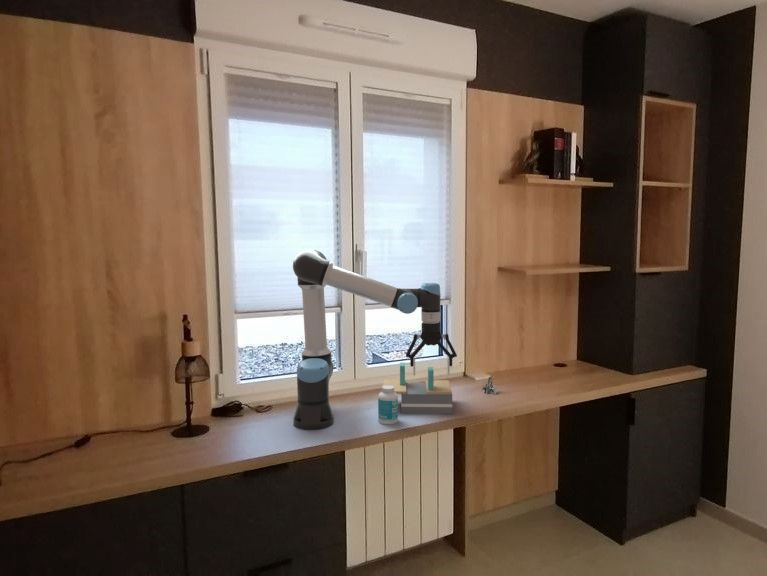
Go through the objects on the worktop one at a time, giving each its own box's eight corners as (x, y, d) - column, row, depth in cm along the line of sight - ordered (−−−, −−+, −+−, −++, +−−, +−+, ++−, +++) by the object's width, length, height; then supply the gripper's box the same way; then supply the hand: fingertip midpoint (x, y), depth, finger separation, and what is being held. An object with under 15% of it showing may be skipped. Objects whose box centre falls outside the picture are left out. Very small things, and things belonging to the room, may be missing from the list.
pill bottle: (395, 426, 187) (395, 390, 186) (376, 424, 189) (376, 389, 188) (399, 419, 195) (399, 384, 193) (380, 417, 196) (380, 383, 195)
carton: (401, 413, 200) (401, 394, 200) (401, 400, 216) (401, 382, 216) (452, 414, 200) (452, 394, 199) (448, 401, 216) (448, 382, 215)
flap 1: (381, 393, 200) (381, 371, 199) (383, 382, 216) (383, 361, 215) (406, 393, 200) (406, 371, 199) (406, 382, 216) (406, 361, 215)
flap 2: (427, 394, 199) (427, 371, 198) (425, 382, 215) (425, 361, 214) (451, 394, 199) (452, 371, 198) (448, 382, 215) (448, 361, 214)
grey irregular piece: (471, 393, 228) (471, 376, 227) (484, 389, 233) (484, 373, 232) (486, 398, 221) (486, 380, 220) (499, 394, 226) (500, 377, 225)
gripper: (399, 323, 198) (400, 376, 200) (463, 323, 197) (463, 376, 199) (399, 320, 205) (400, 371, 207) (461, 320, 204) (461, 371, 206)
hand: (431, 374), depth 203 cm, fingers open, 13 cm apart
